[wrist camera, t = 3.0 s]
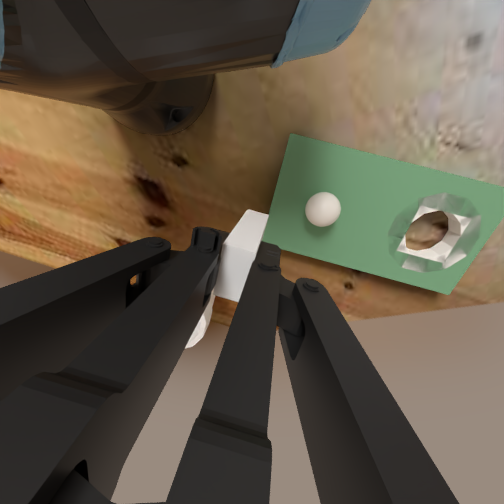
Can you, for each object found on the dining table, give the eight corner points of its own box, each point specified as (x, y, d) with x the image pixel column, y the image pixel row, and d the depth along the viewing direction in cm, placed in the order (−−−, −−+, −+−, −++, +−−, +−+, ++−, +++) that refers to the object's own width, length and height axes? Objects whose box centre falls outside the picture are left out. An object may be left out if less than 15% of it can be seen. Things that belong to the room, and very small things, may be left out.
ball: (300, 216, 31) (301, 225, 27) (310, 185, 29) (313, 191, 26) (330, 224, 31) (335, 235, 27) (342, 194, 29) (349, 200, 26)
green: (262, 237, 35) (260, 243, 33) (290, 134, 30) (290, 132, 27) (438, 285, 34) (448, 295, 32) (503, 188, 29) (521, 191, 26)
